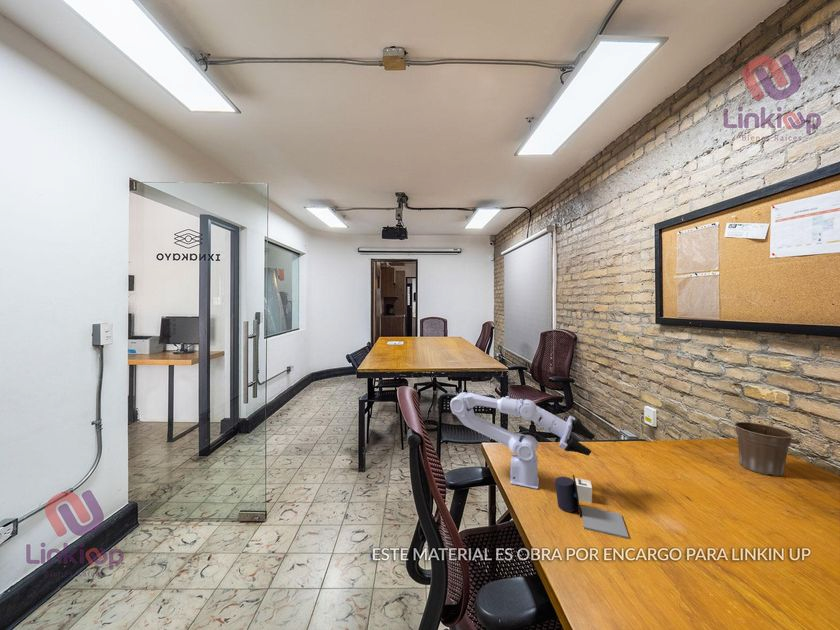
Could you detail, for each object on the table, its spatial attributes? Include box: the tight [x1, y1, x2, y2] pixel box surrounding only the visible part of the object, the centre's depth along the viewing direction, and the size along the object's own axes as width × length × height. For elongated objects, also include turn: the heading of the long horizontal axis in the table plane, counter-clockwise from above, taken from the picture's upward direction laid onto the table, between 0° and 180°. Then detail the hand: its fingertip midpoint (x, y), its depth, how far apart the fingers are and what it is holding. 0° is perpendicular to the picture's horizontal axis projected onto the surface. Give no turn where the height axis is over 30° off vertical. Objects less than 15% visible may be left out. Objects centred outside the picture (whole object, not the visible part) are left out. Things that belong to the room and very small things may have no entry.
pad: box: [580, 505, 630, 539], centre depth 97 cm, size 11×11×1 cm
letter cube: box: [575, 477, 593, 504], centre depth 110 cm, size 5×5×5 cm
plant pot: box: [734, 421, 795, 477], centre depth 130 cm, size 16×16×16 cm
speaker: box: [554, 474, 582, 518], centre depth 104 cm, size 8×6×10 cm
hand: (591, 445), depth 111 cm, fingers open, 7 cm apart
